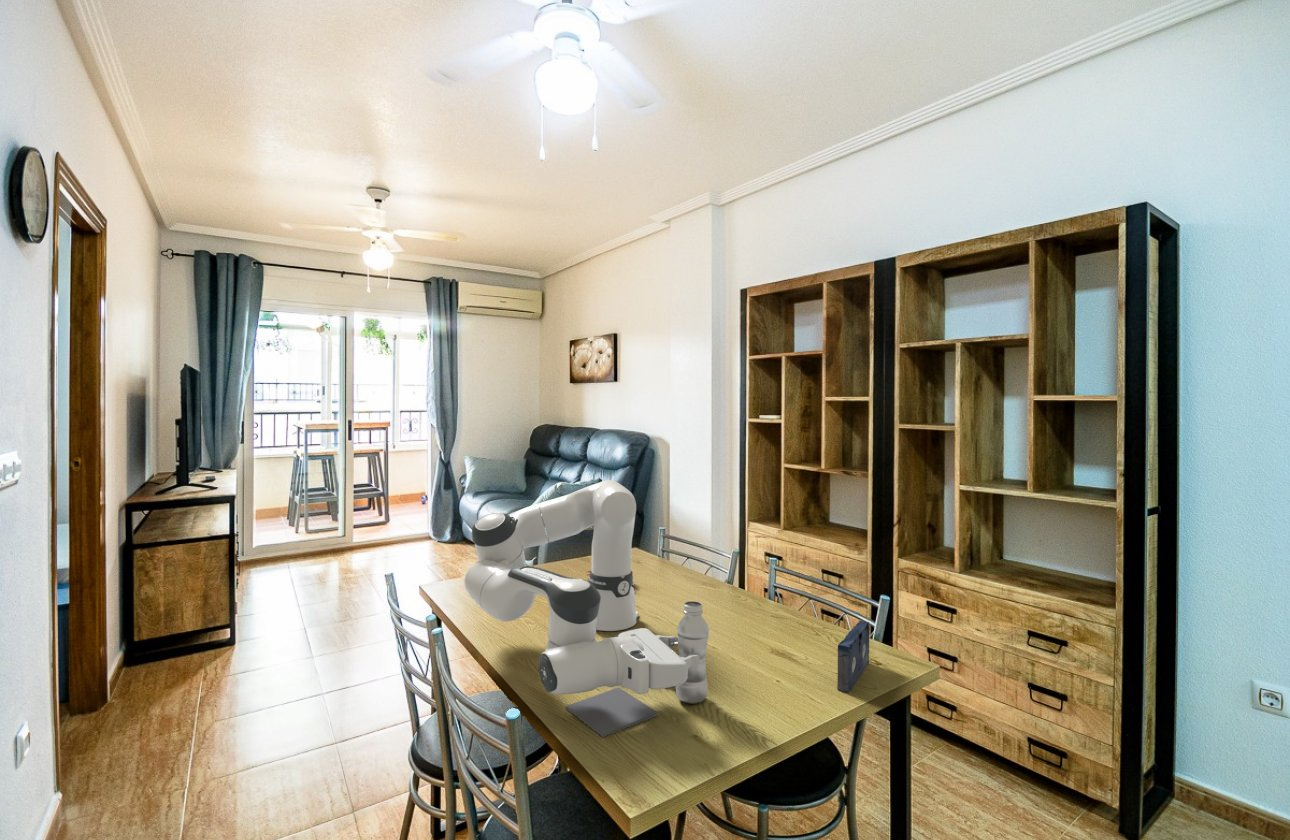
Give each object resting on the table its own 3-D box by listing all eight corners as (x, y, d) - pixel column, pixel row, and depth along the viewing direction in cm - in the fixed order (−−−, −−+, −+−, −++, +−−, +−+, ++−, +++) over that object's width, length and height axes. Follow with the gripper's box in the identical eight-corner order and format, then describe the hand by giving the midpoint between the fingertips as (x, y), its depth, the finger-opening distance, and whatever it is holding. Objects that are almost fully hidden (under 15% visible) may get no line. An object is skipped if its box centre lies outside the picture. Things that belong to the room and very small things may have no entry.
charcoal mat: (565, 708, 119) (565, 705, 119) (618, 690, 128) (618, 687, 128) (602, 737, 109) (602, 734, 109) (657, 715, 117) (657, 712, 117)
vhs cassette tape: (858, 660, 144) (859, 619, 144) (871, 664, 142) (872, 622, 142) (834, 690, 129) (835, 644, 129) (848, 694, 127) (849, 647, 127)
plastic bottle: (673, 692, 127) (674, 599, 126) (704, 692, 127) (706, 598, 127) (677, 708, 120) (678, 609, 120) (710, 707, 121) (712, 609, 120)
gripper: (605, 655, 127) (664, 645, 132) (644, 699, 108) (711, 685, 113) (606, 625, 127) (665, 617, 132) (644, 664, 108) (711, 652, 113)
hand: (686, 649), depth 123 cm, fingers open, 8 cm apart
